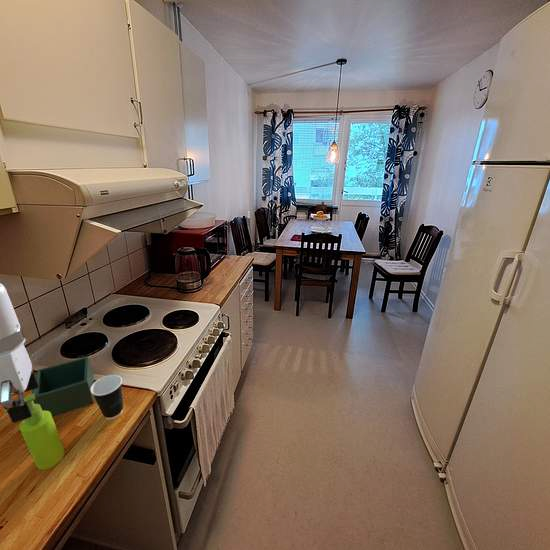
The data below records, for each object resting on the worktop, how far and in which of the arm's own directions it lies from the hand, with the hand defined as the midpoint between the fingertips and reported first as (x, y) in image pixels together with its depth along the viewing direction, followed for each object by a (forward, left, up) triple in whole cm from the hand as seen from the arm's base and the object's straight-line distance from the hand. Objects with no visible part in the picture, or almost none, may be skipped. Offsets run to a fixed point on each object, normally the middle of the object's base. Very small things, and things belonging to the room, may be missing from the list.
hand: (27, 403), depth 65 cm
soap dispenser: (0, 0, -19) cm, 19 cm away
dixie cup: (+15, +8, -19) cm, 25 cm away
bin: (+3, +22, -19) cm, 29 cm away
